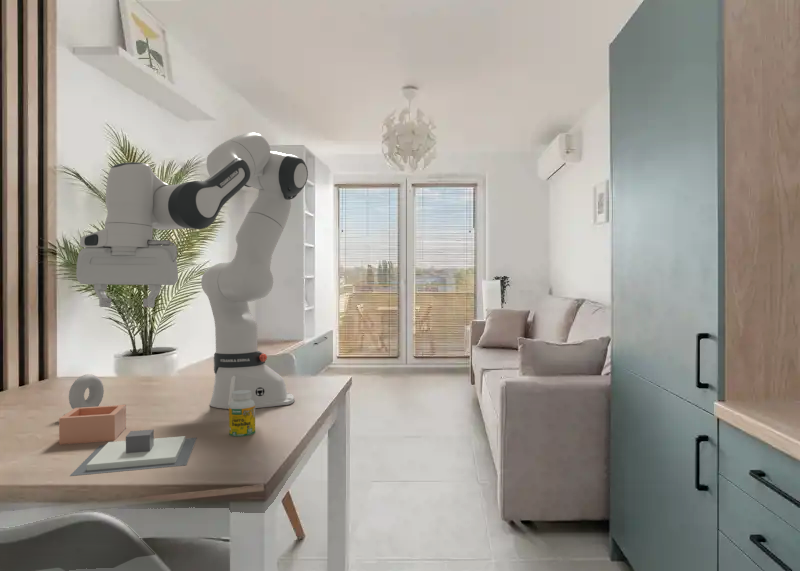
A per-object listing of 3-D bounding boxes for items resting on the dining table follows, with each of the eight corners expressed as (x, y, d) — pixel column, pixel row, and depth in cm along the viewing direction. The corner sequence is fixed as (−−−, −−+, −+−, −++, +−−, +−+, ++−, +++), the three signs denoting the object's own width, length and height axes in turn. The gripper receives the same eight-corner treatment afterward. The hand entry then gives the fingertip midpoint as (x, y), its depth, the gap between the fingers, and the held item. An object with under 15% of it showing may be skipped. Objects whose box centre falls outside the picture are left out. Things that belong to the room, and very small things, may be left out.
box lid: (185, 441, 108) (185, 421, 108) (175, 462, 94) (175, 440, 94) (108, 447, 104) (108, 426, 104) (86, 470, 90) (86, 447, 90)
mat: (196, 441, 110) (196, 437, 110) (186, 469, 93) (186, 465, 93) (99, 449, 105) (99, 445, 105) (69, 480, 88) (69, 475, 88)
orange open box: (126, 431, 118) (125, 404, 118) (114, 444, 109) (114, 414, 109) (75, 435, 116) (75, 407, 116) (59, 448, 106) (59, 418, 106)
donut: (77, 418, 132) (76, 377, 132) (65, 417, 132) (64, 377, 132) (107, 409, 141) (106, 371, 141) (95, 408, 142) (95, 371, 142)
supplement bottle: (255, 432, 117) (255, 388, 117) (254, 439, 111) (254, 393, 111) (230, 434, 115) (229, 389, 115) (227, 441, 110) (227, 394, 110)
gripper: (184, 241, 112) (183, 307, 112) (92, 241, 114) (90, 306, 113) (169, 238, 106) (167, 307, 105) (72, 238, 108) (70, 306, 107)
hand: (126, 307), depth 109 cm, fingers open, 8 cm apart
